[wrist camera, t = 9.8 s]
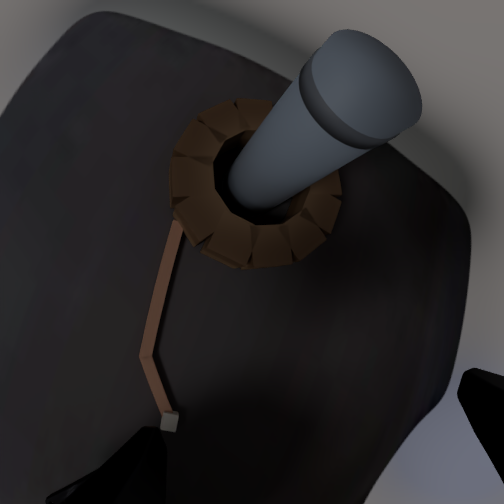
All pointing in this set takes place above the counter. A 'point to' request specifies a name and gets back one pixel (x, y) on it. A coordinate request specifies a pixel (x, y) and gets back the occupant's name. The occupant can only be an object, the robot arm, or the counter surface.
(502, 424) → the robot arm
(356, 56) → the dark grey capped cylinder
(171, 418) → the lace
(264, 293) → the counter surface
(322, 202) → the brown segmented ring
